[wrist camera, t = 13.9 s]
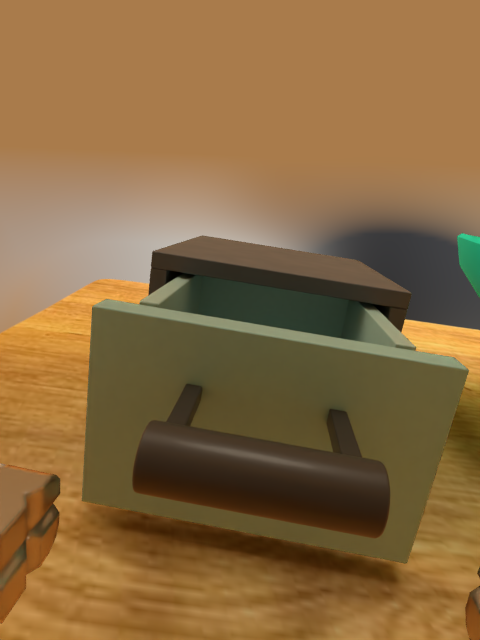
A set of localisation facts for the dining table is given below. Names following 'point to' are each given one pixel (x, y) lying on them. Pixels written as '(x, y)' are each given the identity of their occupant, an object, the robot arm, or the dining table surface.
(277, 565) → the dining table surface
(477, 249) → the table top decor
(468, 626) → the robot arm
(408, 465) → the drawer
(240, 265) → the mini chest of drawers
